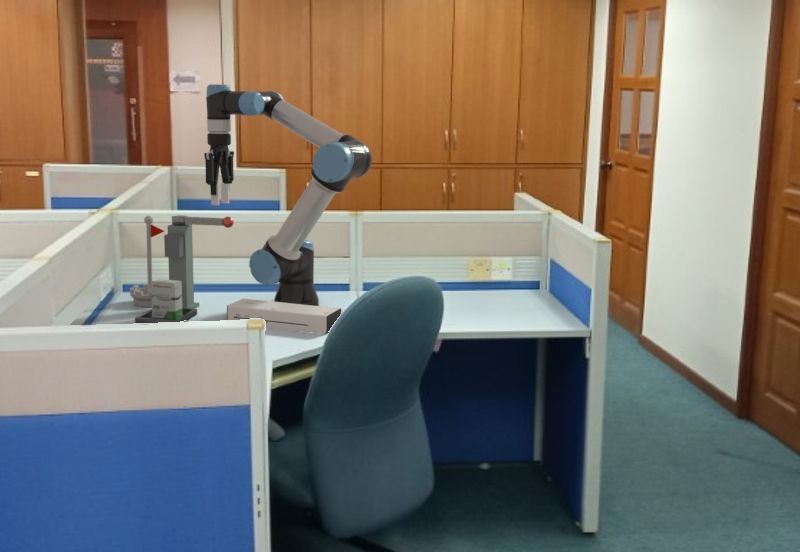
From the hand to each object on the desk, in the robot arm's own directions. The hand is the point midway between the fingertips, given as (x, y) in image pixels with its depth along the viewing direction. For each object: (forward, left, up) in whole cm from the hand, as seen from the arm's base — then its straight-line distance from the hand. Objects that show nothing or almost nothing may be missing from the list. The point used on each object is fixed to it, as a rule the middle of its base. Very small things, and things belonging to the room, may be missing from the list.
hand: (220, 203), depth 305 cm
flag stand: (+25, +2, -35) cm, 43 cm away
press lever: (+4, +6, -7) cm, 10 cm away
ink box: (+11, +20, -34) cm, 41 cm away
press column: (+12, +7, -35) cm, 37 cm away
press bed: (+11, +21, -35) cm, 42 cm away
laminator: (-27, +18, -35) cm, 48 cm away
